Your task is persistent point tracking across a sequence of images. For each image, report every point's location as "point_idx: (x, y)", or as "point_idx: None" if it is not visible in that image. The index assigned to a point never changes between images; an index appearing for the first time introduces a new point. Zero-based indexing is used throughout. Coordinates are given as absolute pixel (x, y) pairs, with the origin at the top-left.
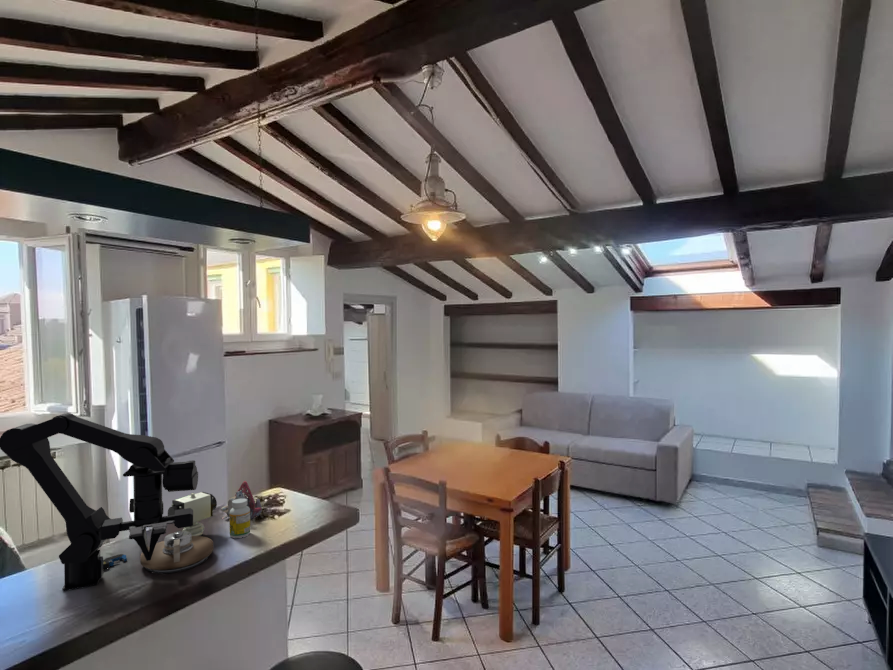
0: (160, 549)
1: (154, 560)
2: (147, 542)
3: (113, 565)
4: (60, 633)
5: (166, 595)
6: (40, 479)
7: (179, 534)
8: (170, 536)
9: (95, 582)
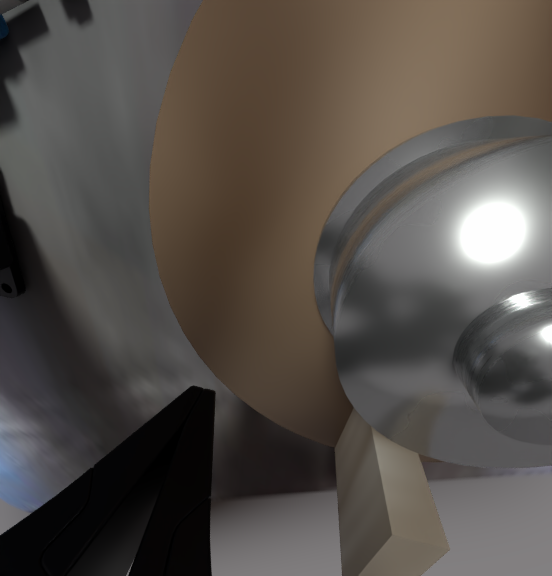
0: (311, 177)
1: (243, 365)
2: (123, 507)
3: (7, 34)
4: (51, 482)
5: (275, 492)
6: None
7: (544, 439)
8: (438, 301)
9: (8, 280)
